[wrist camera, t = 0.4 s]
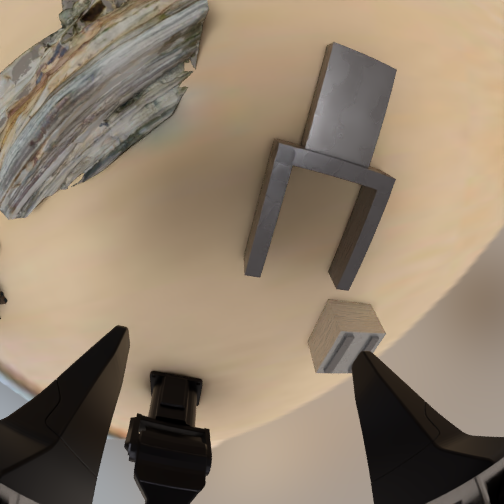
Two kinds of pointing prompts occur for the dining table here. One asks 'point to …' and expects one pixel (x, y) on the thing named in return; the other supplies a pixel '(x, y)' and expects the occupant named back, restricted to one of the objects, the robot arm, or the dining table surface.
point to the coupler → (333, 157)
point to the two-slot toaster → (343, 335)
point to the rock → (91, 92)
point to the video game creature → (2, 299)
